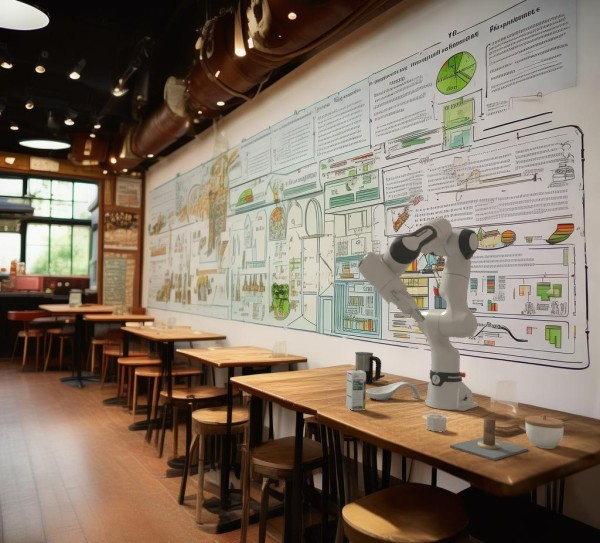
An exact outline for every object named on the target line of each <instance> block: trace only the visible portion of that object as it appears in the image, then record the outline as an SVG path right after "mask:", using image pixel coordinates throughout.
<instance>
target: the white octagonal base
mask: <svg viewBox="0 0 600 543" xmlns="http://www.w3.org/2000/svg"><path fill="white" fill-rule="evenodd" d="M425 420H426V425H425V426H426V430H427V429H429V430H432V431H445V432H446V430H447V416H446V415H443V414H439V413H428V414H426V419H425ZM429 430H428V431H429ZM432 431H431V432H432Z"/></svg>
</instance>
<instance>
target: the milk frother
mask: <svg viewBox="0 0 600 543" xmlns="http://www.w3.org/2000/svg"><path fill="white" fill-rule="evenodd" d="M374 362H375V372H374ZM354 369H355V370H354V371H357V370H361V371H364V372H366V384H372V383H374V382H373V381H378V380H380V379H382V378H384V377H385V376H386V375H385V374H381V372H382V371H381V370H382V360H381V359H380V358H379V357H378V356H374V353H373V352H370V351H369V352H367V351H357V352H355V368H354Z"/></svg>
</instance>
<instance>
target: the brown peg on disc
mask: <svg viewBox="0 0 600 543" xmlns="http://www.w3.org/2000/svg"><path fill="white" fill-rule="evenodd" d="M482 438H483V441H479V442H478V446H479V447H481V448H484V449H489V450H498V449H500V444H498V443H495V439H496V419H494V418H487V417H486V418H483V436H482Z"/></svg>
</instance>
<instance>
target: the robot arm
mask: <svg viewBox="0 0 600 543" xmlns="http://www.w3.org/2000/svg"><path fill="white" fill-rule="evenodd" d="M479 243H480V242H479V236H478V234H477V233H476V232H475V230H473V229H469V228H453V225H452V224H451V223H450V221H449V220H448V219H446V218H444V217H436V218H432V219H430V220H428V221H426V222H424V223H422V224H421V225H420V226H419V227H417V228H416V230H415V231H413V232H412V233H408V234H401V235H397V236H396V237H395V238H394V239H393V241H392V242H391V244H390V246H389V247H388V248H387V250H386V251H385V253H379V254H378V253H374V252H372V251H369V252H367V253H366V254H365V255H364V256H363V257H362V259H361V260H360V261H359V263H358V266H357V267H358V270H359V273H360V274H361V275H362V277H363V278H364V279H365V280H366V281H367V283H369V285H370V286H372V287H374V289H375V290H376V292H377V293H378V294H379V295H380V297H382V299H384V301H385V302H386V303H387V304H390V303H392V304H393V305H395V306H396V307H397V308H398V309H399V311H401V313H403V314H404V315H406V316H407V315H409V316H410V317H411V318H412V319H414V321H416V322H417V327H418V329H419V331H421V332H422V334H423V335H424V336H425V338H426V339H427V342H428V345H429V348H430V357H431V358H430V359H431V364H430V365H431V369H430V370H429V379H430V381H429V382H428V386H427V393H426V399H425V400H424V403H425V405H426V406H428V407H431V408H435V409H439V410H450V411H461V412H462V411H463V412H465V411H468V410H471V409H473V408H476V407H479V403H478V402H475V401H473V393H472V392H473V391H472V390H471V389H470V388H469V386H467V385H466V384H465V383H464V382H463V378H464V379H465V378H466V372H465V371H464V372H463V371H461V370H460V368H461V367H460V366H461V364H460V362H461V361H460V360H461V354H460V352H459V350H458V348H456V347H455V346H454V345H452V342H451V340H450V338H457V339H463V338H469V337H473V336H474V334H475V333H476V332H477V330H478V326H479V325H478V319H477V318H476V315H475V314H474V313H473V312H472V311H471V309H470V307H469V304H468V290H469V285H470V284H469V283H470V278H471V267H472V262H471V261H472V260H471V258H472V257H473V256H474V255H475V253H476V251H478V247H479ZM420 254H423V255H424V254H425V255H427V254H429V255H431V256H434V257H446V262H445V263H444V266H443V270H442V274H441V279H440V284H439V287H438V288H439V289H438V294H439V296H440V297H441V298H442V299H443V300H444V301H445V302H446V309H445V308H429V309H425V310H422V311H420V310H419V309H420V306H419V303H417V301H416V300H415V298H413V296H412V295H411V294H410V293H409V291H408V288H407V287H408V285H406V283H404V281H403V280H402V279H401V277H402V275H403V274H404V273H405V272H406V271H407V269H408V268H410V266H411V265H412V264H413V263H414V261H415V260H416V259H418V258H419V256H420Z"/></svg>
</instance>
